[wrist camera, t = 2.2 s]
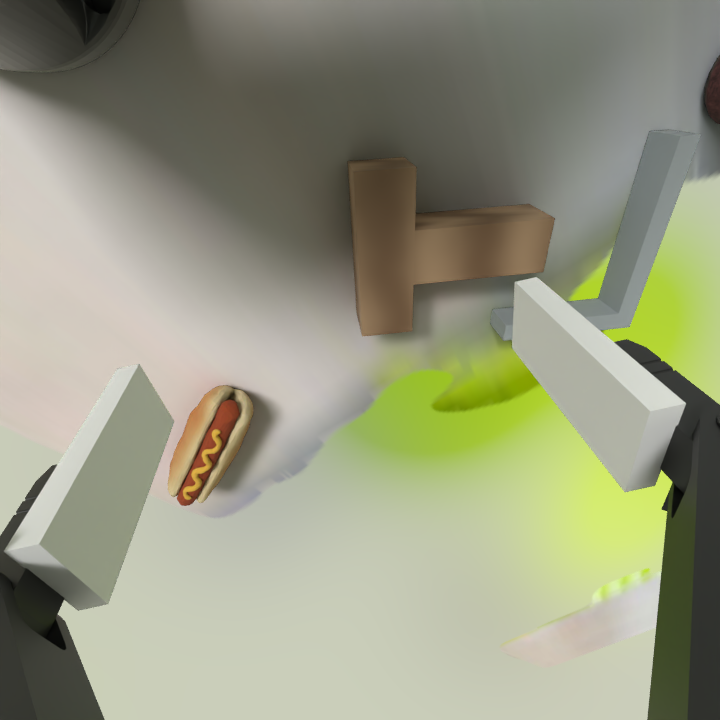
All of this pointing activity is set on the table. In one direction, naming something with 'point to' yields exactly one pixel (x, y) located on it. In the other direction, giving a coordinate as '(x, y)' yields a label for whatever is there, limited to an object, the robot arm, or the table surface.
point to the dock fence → (633, 234)
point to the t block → (428, 243)
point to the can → (713, 92)
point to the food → (209, 443)
